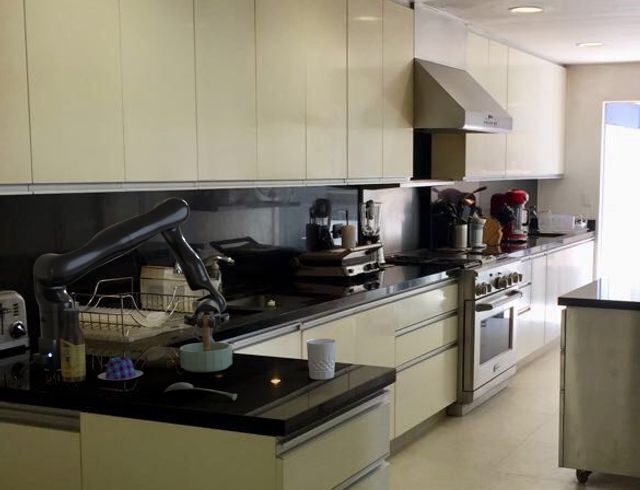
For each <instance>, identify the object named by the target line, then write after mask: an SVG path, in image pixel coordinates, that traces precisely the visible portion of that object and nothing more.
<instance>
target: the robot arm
mask: <svg viewBox="0 0 640 490" xmlns="http://www.w3.org/2000/svg"><path fill="white" fill-rule="evenodd" d="M190 211H191V210H190V206H189V204H188V202H186V201H185V200H184V199H182V198H180V197H169V198H166V199H165V200H163V201H160V202H158V203H157V204H155V205H154V206H153V208H152V209H151V210H149V211H147V212H145V213H142V214H138V215H136V216H133V217H130V218H127V219H125V220H122V221H119V222H117V223H114V224H112V225H110V226H108V227H106V228H104V229H102V230H101V231H99V232H97V233H96V234H95V235H94V236H93V237H92V238H91V239H90V240H89V241H88V242H87V243H86V244H85V245H83V246H81V247H79V248H77V249H74V250H72V251H69V252H67V253H63V254H58V253H45V254H42V255H40V256H39V257H37V259H36V261H35V262H34V265H33V270H32V271H33V272H32V273H33V287H34V295H35V300H36V302H37V304H38V307H39V321H40V322H39V325H40V337H38V339H37V340H38V341H37V342H38V353H33V354H32V360H30V361H29V362H27V363H26V364H25V365H24V366H22V367H21V369H20V371H19V372H18V374H19V375H20V376H22V374H23V373H24V372H25V370H26V369H27V368H29V367H30V366H31V365H33V364H39V369H40V370H39V371H41V372H42V371H43V372H47V373H48V372H49V373H57V372H58V373H61V352H60V337H61V334H62V330H63V327H64V315H63V310H64V309H67V308H75V304H74V300H73V298H72V297H71V296H70V294H68V291H67V287H68V286H69V285H71V284H73V283H74V282H76V281H77V280H79V279H81V278H82V277H83V276H85V275H86V274H88V273H90V272H92V271H93V270H94V269H96V268H98V267H101V266H103V265H105V264H108V263H109V262H112V261H113V260H116V259H118V258H120V257H122V256H124V255H126V254H128V253H130V252H131V251H134V250H135V249H136V248H138V247H140V246H142V245H144V244H145V243H146V242H148V241H149V240H151V239H152V238H154V237H155V236H157V235H158V234H159V235H161V236H162V238H163V240H164V241H165V243H166V244H167V246H168V248H169V249H170V251H171V252H172V254H173V256H174V258H175V260H176V261H177V264H178V265H179V268H180V270H181V272H182V274H183V277H184V280H185V281H186V283H187V286H188V288H189V290H190V291H191V292H197V291H207V292H208V294H205V295H203V296H201V297H197V298H196V299H195V300H193V301H192V303H191V308H192V309H191V310H192V312H193V314H192V315H188V314H185V315H183V324H184V325H186V326H190V327H191V328H192V327H193V328H194V327H195V326H197V327H196V328H198V329H199V328H200V329H202V315H209V318H210V319H209V328H210V329H213V328H215V327H217V326H221V325H224V324H227V323H229V322H230V314H229V313H228V312H226V313H223V312H225V311H226V310H227V301H226V298H225V297H224V296H223V295H222V293H221V292H220V291H219V290H218V289H217V287H216V286H215V285H214V283H213V282H212V280H211V278H210V276H209V274H208V272H207V269H206V266H205V265H204V263H203V260H202V259H201V257H200V256H199V254H198V253H196V251H195V250H194V249H193V248H192V247H191V245H190V244H189V243H188V242H187V240H186V238H185V237H184V235H183V233H182V229H181V226H182V225H184V224H185V223H186V222H187V221H188V219H189V218H190V214H191V212H190Z"/></svg>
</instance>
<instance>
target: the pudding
mask: <svg viewBox="0 0 640 490" xmlns="http://www.w3.org/2000/svg"><path fill="white" fill-rule="evenodd" d="M142 375H144V372H143V371H141V370H138V369H135V367H134V364H133V361H132V359H131V358H130V357H128V356H118V357H112V358H109V360H108V361H107V366H106V371H105V372H102V373H100V374H98V375H97V378H98V379H101V380H106V381H112V382H119V381H128V380H132V379H135V378H138V377H140V376H142Z"/></svg>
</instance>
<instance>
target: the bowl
mask: <svg viewBox="0 0 640 490" xmlns="http://www.w3.org/2000/svg"><path fill="white" fill-rule="evenodd" d="M233 360H234V359H233V345H232V344H230V343H228V342H222V341H221V342H220V341H215V342H211V351H203V341H202V342H194V343H189V344H188V343H187V344H184V345H181V346H180V347H179V366H180V368H182V369H183V370H185V371H186V372H192V373H210V372H211V373H212V372H219V371H223V370H226V369H228V368H229V367H231V365H233V363H234V362H233Z"/></svg>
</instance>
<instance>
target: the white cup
mask: <svg viewBox="0 0 640 490" xmlns="http://www.w3.org/2000/svg"><path fill="white" fill-rule="evenodd" d="M336 342H337V341H336V340H335V339H332V338H313V339H309V340H307V341H306V353H307V364H308V365H307V366H308V370H309V371H308V372H309V373H308V374H309V378H310V379H311V380H316V381H317V380H319V381H320V380H321V381H322V380H323V381H324V380H330V379H333V378H335V367H336V347H337V346H336V345H337V344H336Z"/></svg>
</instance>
